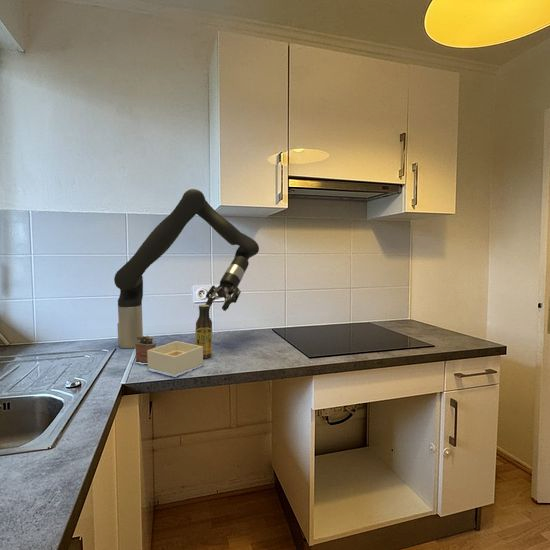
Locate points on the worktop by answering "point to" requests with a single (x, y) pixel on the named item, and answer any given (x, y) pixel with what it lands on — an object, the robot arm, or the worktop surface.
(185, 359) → the crate
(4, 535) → the worktop surface
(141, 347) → the potted plant
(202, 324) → the sauce bottle
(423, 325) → the worktop surface
